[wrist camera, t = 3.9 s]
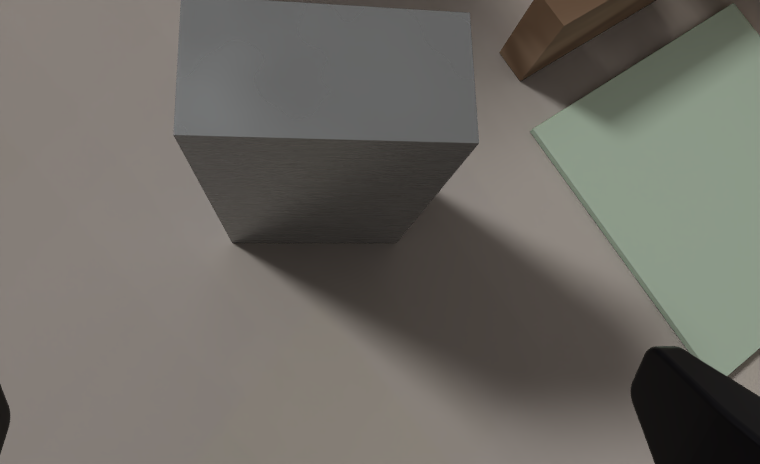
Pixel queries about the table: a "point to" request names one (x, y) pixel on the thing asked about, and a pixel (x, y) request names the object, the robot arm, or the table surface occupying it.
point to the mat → (679, 180)
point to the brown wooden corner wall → (561, 30)
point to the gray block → (322, 115)
